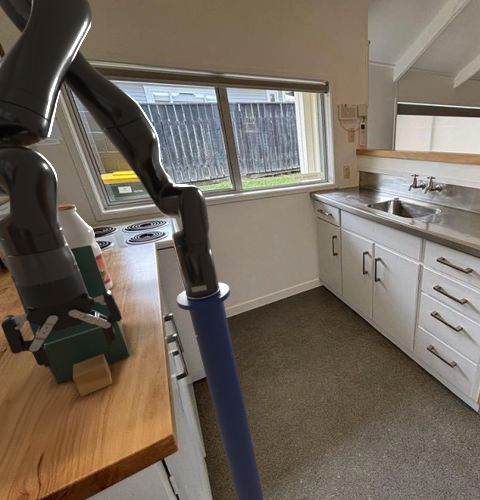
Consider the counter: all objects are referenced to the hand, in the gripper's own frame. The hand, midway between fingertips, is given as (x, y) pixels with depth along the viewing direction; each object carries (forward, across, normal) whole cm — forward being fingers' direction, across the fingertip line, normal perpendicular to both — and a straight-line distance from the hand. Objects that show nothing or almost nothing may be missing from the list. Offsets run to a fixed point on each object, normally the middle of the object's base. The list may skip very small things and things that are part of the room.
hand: (81, 353), depth 53 cm
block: (+8, 0, 0) cm, 8 cm away
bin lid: (-9, 0, -8) cm, 13 cm away
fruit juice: (+7, -2, -52) cm, 52 cm away
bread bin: (+8, 0, -13) cm, 15 cm away
